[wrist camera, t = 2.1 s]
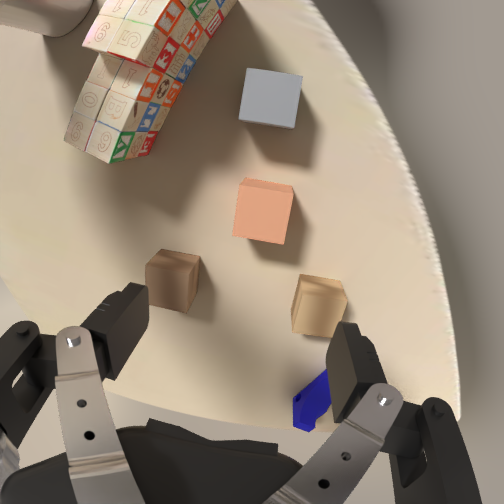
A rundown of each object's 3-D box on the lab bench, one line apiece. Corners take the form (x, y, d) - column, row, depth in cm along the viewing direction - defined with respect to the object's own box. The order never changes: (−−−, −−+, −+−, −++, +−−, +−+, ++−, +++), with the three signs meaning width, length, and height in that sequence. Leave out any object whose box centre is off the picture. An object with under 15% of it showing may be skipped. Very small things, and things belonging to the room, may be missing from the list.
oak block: (290, 308, 37) (292, 332, 33) (299, 273, 35) (302, 294, 31) (328, 314, 37) (334, 338, 32) (339, 280, 35) (347, 301, 31)
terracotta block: (238, 221, 34) (232, 235, 29) (245, 177, 32) (239, 184, 27) (283, 229, 33) (283, 244, 29) (291, 185, 32) (293, 193, 27)
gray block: (244, 122, 29) (238, 119, 25) (252, 78, 28) (247, 67, 23) (291, 129, 29) (294, 127, 25) (299, 85, 27) (302, 76, 23)
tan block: (160, 284, 38) (145, 303, 33) (161, 248, 36) (145, 265, 31) (197, 291, 37) (186, 313, 33) (200, 255, 36) (188, 274, 31)
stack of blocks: (149, 156, 32) (88, 170, 20) (108, 136, 31) (40, 143, 20) (239, -1, 24) (219, -58, 13) (192, -15, 23) (155, -67, 12)
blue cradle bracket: (314, 406, 44) (316, 434, 38) (292, 397, 43) (293, 426, 38) (365, 362, 40) (373, 391, 34) (344, 351, 39) (351, 380, 34)
